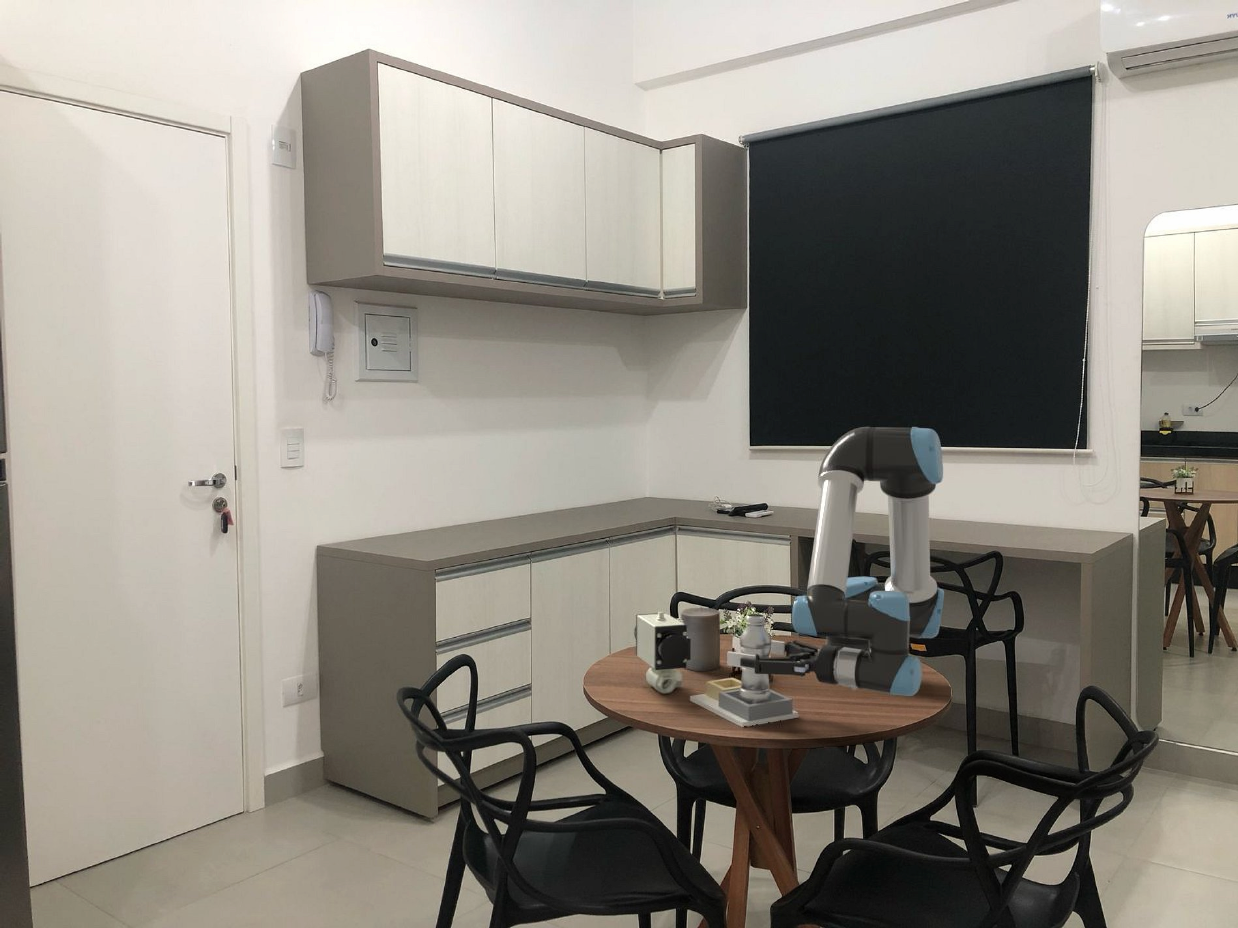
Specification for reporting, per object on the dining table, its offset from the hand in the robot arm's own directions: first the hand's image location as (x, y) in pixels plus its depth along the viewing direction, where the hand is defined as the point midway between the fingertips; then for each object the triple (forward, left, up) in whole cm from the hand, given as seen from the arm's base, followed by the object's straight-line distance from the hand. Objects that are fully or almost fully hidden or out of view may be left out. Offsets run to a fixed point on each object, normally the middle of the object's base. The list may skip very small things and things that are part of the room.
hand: (742, 651), depth 207 cm
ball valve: (+6, -22, -13) cm, 26 cm away
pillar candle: (-12, -35, -13) cm, 39 cm away
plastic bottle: (-1, +3, -12) cm, 13 cm away
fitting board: (-2, -2, -13) cm, 13 cm away
